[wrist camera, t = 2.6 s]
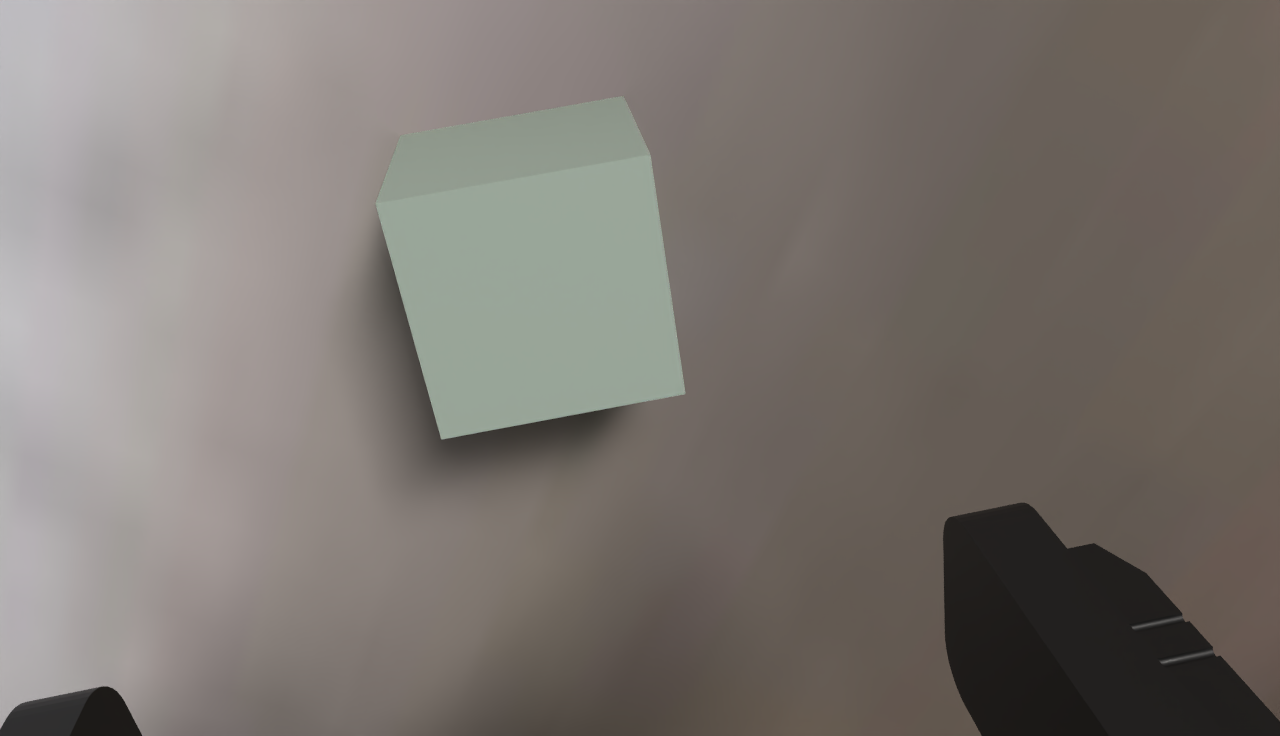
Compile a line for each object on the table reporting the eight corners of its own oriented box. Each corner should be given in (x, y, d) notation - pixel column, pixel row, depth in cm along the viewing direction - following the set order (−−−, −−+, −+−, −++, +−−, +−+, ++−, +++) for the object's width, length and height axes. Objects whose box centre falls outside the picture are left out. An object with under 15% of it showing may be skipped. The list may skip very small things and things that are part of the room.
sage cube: (622, 95, 21) (650, 154, 17) (654, 298, 23) (685, 393, 19) (400, 134, 21) (375, 203, 17) (453, 334, 23) (441, 439, 19)
